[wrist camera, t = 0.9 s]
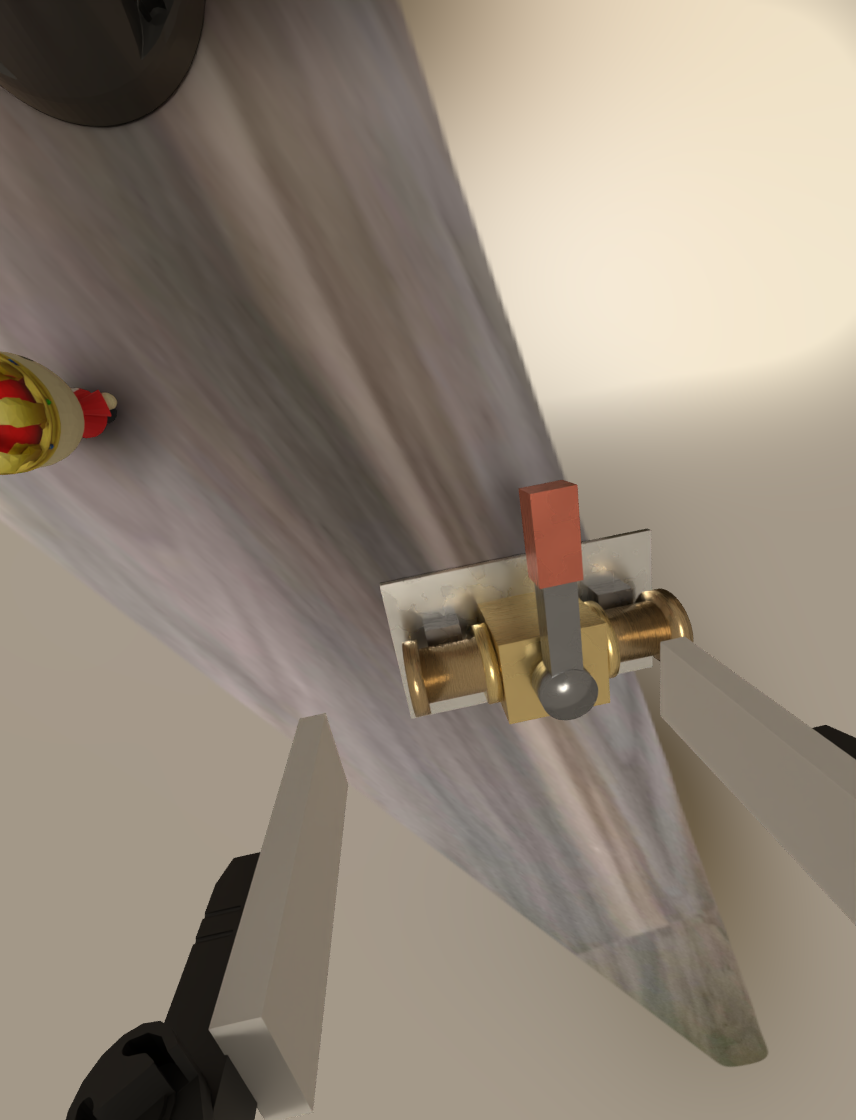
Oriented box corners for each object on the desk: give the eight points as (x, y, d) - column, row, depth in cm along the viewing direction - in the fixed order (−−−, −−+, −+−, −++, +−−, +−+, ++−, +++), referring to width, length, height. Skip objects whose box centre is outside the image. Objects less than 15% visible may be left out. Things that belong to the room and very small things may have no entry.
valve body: (411, 714, 41) (416, 781, 33) (379, 583, 36) (377, 625, 29) (648, 663, 41) (707, 717, 34) (647, 528, 37) (714, 555, 29)
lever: (585, 694, 32) (600, 714, 29) (534, 705, 31) (545, 726, 29) (570, 477, 26) (587, 482, 24) (508, 490, 26) (519, 496, 24)
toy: (118, 348, 29) (-140, 275, 15) (168, 450, 31) (-13, 473, 17) (20, 378, 29) (-332, 336, 15) (77, 478, 31) (-179, 525, 17)
